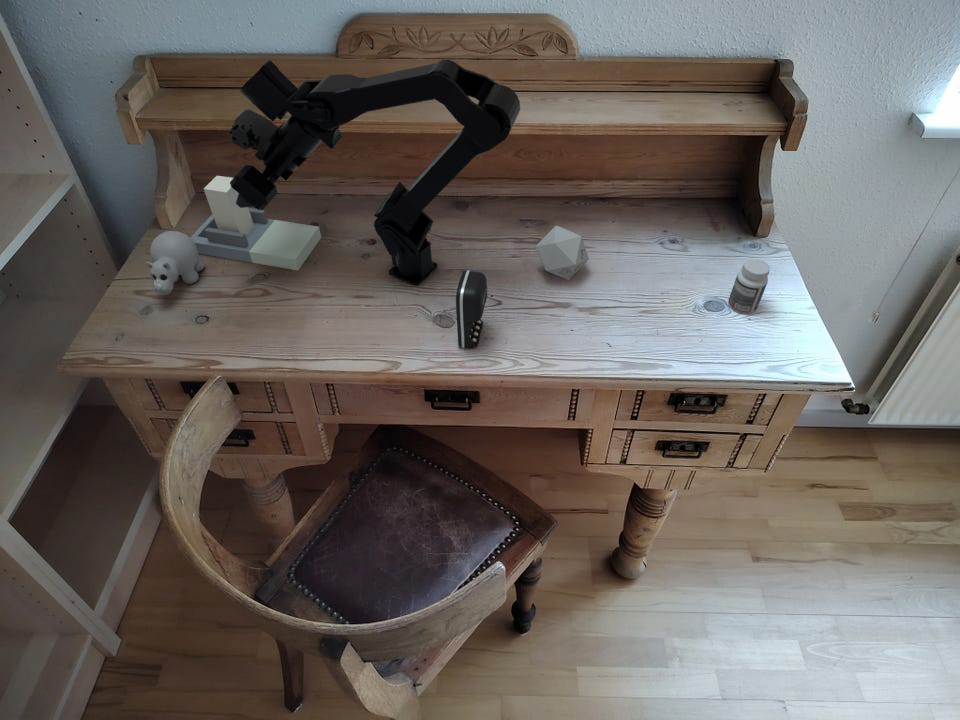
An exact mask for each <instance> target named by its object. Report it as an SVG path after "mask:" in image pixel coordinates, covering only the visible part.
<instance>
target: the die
mask: <svg viewBox="0 0 960 720" xmlns="http://www.w3.org/2000/svg"><path fill="white" fill-rule="evenodd" d="M534 248H535V250H536V252H537V254H538V258H539V261H540V263H541V265H542V268H543V269H544V271H546V272H548V273H551V274H553V275H555V276H557V277H560V278H562V279H564V280H567V281H569V280H570V279H571V278H572V277H573V276H574V274H576V272H578V271H579V270H580V269H581V268H583V266H584V265H585V264H586V263H587V262H588V261H589V260H590V257H589V255H588V251H587V249H586V246H585V243H584V240H583V237H582V235H580V234H577V233H576V232H573V231H571V230H568V229H566V228H564V227H561V226H558V225H555V226H554V227H553V228H552V229H551V230H550V231H549V232H548V233H547V234H546V235H545V236H544V237H543V238H542V239H541V240H540V241H539V242H538V243H537V244H536V245H535V246H534Z"/></svg>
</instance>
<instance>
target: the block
mask: <svg viewBox="0 0 960 720" xmlns="http://www.w3.org/2000/svg"><path fill="white" fill-rule="evenodd" d="M233 178H234V177H231V176H221V175H216V176H215V177H214V178H213V179H212V180H211V181H210V182H209V183H208V184H207V185H206V186H205V187H204V188H203V191H204V194H205V197H206V200H207V202H208V205H209V208H210V210H211V215H212V214H213V216H214V219H215V222H216V225H217V227H218V229H220V230H227V231H233V232H239V233H245V235H247V234H248V233H249V232H250V231H251V230H252V228H253V227H254V224H253V221H252V218H251V214H250V211H249V208H250V207H244V208H240V207H239V206H238V205H237V204H236V201H237V197H238V194H239V193H238V192H236V191H235V190H234V189H233V188H232V187H231V185H230V182H231V180H232V179H233Z"/></svg>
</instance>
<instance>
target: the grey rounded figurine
mask: <svg viewBox="0 0 960 720" xmlns="http://www.w3.org/2000/svg"><path fill="white" fill-rule="evenodd" d="M190 237H191V236H189V235H187V234H186V233H183V232H181V231H177V230H169V231H164V232H162V233H160V234H159V235H157V236H156V237H155V238H154V239H153V240H152V242H151V244H150V247H149V248H150V249H149V255H150V259H151V262H150V261H146V262H145V264H146V265H147V267H148V268H149V276H150V278H151V279H152V281H153V288H154V291H155V292H157V294H159V295H162V296H165V295H169V294H170V293H172V291H173V289H174V284H175V283H177V282H178V280H180V278H181V280H182V281H183V282H184V283H185V284H188V285H191V284H194V283H196V282H197V281H198V280H199V278H200V277H199V276H200V275H199V273H198V272H202V270H203V269H204V268H205V267H206V266H205V261H204V259H202V257H200V255H199V254H198V250H197V247H196V244H195V243H194V241H193V240H192V239H191V238H190Z"/></svg>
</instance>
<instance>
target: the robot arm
mask: <svg viewBox="0 0 960 720" xmlns="http://www.w3.org/2000/svg"><path fill="white" fill-rule="evenodd" d="M239 91H240V93H241V94H242V95H243V96H244V97H245V98H246V99H247V100H248V101H249V102H251V104H252V105H254V107H256V108H257V109H258V110H259V111H260V112H261V113H262V114H264V116H263V115H261V114H259V113H257V112H255V111H254V110H252V109H245V110H243V112H241V114H239V115H238V116H237V117H236V118H235V119H234V121H233V124H232V127H231V128H230V129H229V130H228V135H230V136H231V137H230V142H232V144H234V145H235V146H237V147H239V148H241V149H243V150H249V148H251V149H252V150H254V151H256V152H255V154H254V156H255V157H256V158H257V159H258V160H259V161H262V163H263V164H264V166H265V168H264V170H263V171H262V172H260V171H259V170H258V169H257V168H256V167H255V166H254V165H251V164H250V165H248V164H245V165H244V166H243V167H242V168H241V169H240V170H239V171H238V173H237V174H236V175H235V176H233V177H232V178H233V179H232V180H231V182H230V185H231V187H232V188H233V189H234V190H235V191H236V192H238V193H239V194H238V197H237V201H236V204H237V205H238V206H239V207H240V208H244V207H248V208H253V207H254V209H257V210H265V208H266V207H267V206H268V205H269V203H270V202H272V200H273V199H274V198H275V197H276V196H277V194H278V190H277V186H276V185H275V183H276V182H277V181H278V180H279V179H280V177H281V178H282V179H284V181H287V180H288V179H289V178H290V177H291V176H292V174H293V173H294V172H295V171H296V170H297V169H298V168H299V167H300V166H301V165H303V163H304V162H306V160H307V159H308V158H309V157H310V155H311V154H312V153H314V151H315V150H316V149H317V147H319V146H320V144H321V143H322V142H323V143H324V144H325V146H327V147H328V148H329V149H331V150H333V149H334V148H335V147H336V146H337V145H338V144H339V142H340V141H341V140H342V137H343V136H342V133H341V130H340V127H341V126H343V125H346V124H348V123H350V122H352V121H353V120H355V119H356V118H359V117H360V116H362V115H363V114H366V113H368V112H369V113H370V112H375V111H379V110H384V109H389V108H395V107H399V106H400V107H401V106H407V105H411V104H417V103H422V102H426V101H427V102H428V101H432V100H435V101H436V102H439V103H440V104H442V105H443V106H444V107H445V108H446V109H447V111H448V112H449V113H450V114H451V115H452V117H453V118H454V119H455V120H456V121H457V123H459V124H460V125H462V126H463V127H462V129H461V131H459V132H458V134H457V135H456V136H455V137H454V138H453V139H452V140H451V142H449V143H448V145H447V146H446V147H445V148H444V149H443V150H442V151H441V153H439V154H438V156H437V157H436V158H434V160H433V161H432V162H431V164H429V165H428V167H427V168H426V169H425V170H424V171H423V172H422V173H420V176H418V177H417V178H416V180H414V182H413V183H412V184H410V185H408V186H406V187H405V186H404V185H403V184H402V182H401V181H398V183H397V184H396V185H395V187H394V188H393V190H392V191H390V192H388V193H387V194H386V196H385V197H384V199H383V201H382V202H381V203H380V204H379V207H378V208H377V210H376V212H374V213H373V217H375V218H376V219H375V220H374V222H373V228H374V231H375V233H376V234H377V236H379V238H380V239H381V240H380V241H382V243H383V245H384V247H385V249H386V251H387V252H388V254H389V255H390V256H391V263H392V267H391V268H390V269H389V270H388V274H389V275H390V276H393V277H395V278H397V279H400V280H402V281H403V282H406V283H409V284H411V285H413V286H419V285H420V284H422V282H424V281H425V280H426V279H427V278H428V277H429V276H430V275H431V274H432V273H433V272H434V271H435V270H437V269H438V268H439V264H438V263H436V262H434V261H432V259H433V258H432V248H431V245H432V244H431V242H429V241H428V239H427V237H428V234H429V233H430V232H431V229H432V228H433V224H434V220H433V219H431V218H430V217H429V215H428V214H426V212H424V210H425V208H426V207H427V206H429V204H431V202H432V201H433V200H434V199H435V198H436V197H437V196H438V195H439V194H440V193H441V192H442V191H443V190H444V189H445V188H447V186H448V185H449V184H450V183H451V182H452V181H453V180H454V179H455V177H457V176H458V175H459V173H460V172H462V171H463V169H464V168H465V167H467V166H468V165H469V163H471V161H472V160H474V158H476V157H478V156H480V155H483V154H485V153H487V152H490V151H491V150H493V149H494V148H495V147H497V146H499V145H500V144H501V143H503V142H504V141H506V139H507V138H508V136H509V135H510V133H511V132H512V129H513V126H514V124H515V123H516V120H517V118H518V116H519V113H520V111H521V102H520V99H519V96H518V94H516V92H515V91H514V90H513V89H512V88H511V87H509V86H506V85H503V84H499V83H497V82H496V81H495V80H493V79H491V78H490V77H489V76H487V75H485V74H482V73H479V72H475V71H473V70H469V69H467V68H464V67H463V66H461V65H459V64H458V63H456V62H455V61H453V60H451V59H441V60H439V61H437V62H435V63H431V64H426V65H421V66H417V67H412V68H407V69H402V70H401V69H400V70H397V71H393V72H388V73H382V74H378V75H374V76H369V77H358V76H357V75H356V76H355V75H353V74H349V73H348V74H329V75H327V76H325V77H324V78H322V79H320V80H319V79H315V80H312V79H311V80H310V79H309V80H304V81H303V82H302V83H301V84H300V85H299V86H298V87H297V86H296V85H295V84H294V83H293V82H292V81H291V80H290V79H289V78H288V77H287V76H286V75H284V73H283V72H282V71H281V70H280V69H279V67H278V66H277V65H276V64H275V63H274V62H273V61H272V60H271V59H268V60H267V61H266V62H265V63H264V64H262V65H261V67H259V69H258V71H256V72H255V74H254V75H252V77H250V78H249V79H248V80H247V81H246V82H245V83H244V84H243V85H242V86H241V88H240V90H239ZM471 98H474V99H475V100H477V101H478V102H477V103H476V102H474V101H473V100H472V99H471ZM288 113H289V115H290V117H288V119H287V120H286V121H285V122H283V123H281V125H280V126H278V125H276V124H275V123H274V121H275V120H276V119H278V120H279V121H281V120H283V119H284V118H285V116H287V114H288Z"/></svg>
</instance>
